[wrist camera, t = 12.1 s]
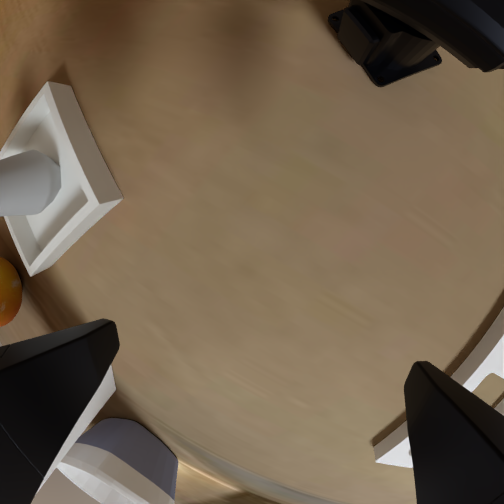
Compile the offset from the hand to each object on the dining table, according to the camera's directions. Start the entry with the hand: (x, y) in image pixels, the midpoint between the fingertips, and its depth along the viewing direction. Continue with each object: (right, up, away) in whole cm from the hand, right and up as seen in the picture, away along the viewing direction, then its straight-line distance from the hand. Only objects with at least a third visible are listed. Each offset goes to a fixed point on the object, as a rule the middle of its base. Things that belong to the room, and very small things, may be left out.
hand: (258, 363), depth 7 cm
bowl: (-17, -24, +24) cm, 38 cm away
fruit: (-31, -1, +20) cm, 36 cm away
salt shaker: (-19, +10, +14) cm, 25 cm away
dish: (-19, +10, +14) cm, 26 cm away
